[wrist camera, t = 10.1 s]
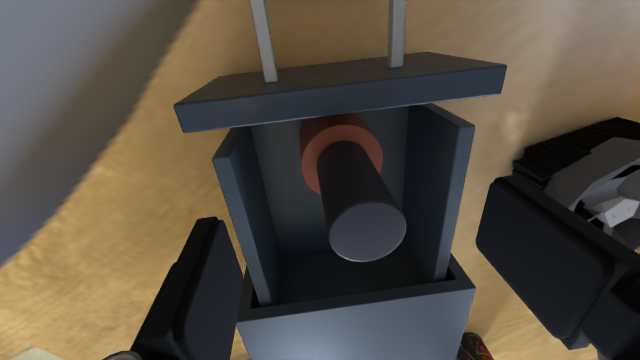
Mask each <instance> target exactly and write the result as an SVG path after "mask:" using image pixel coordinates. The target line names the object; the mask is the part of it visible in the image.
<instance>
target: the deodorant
mask: <svg viewBox="0 0 640 360" xmlns="http://www.w3.org/2000/svg"><path fill="white" fill-rule="evenodd" d="M455 360H494V359H493V357H492V356H491V354H490V352H489V351H488V349H487V348H486V346H485V344H484V343H483V341H482V339H481V338H480V337H479V336H478V335H476V334H473V333H464V334H463V335H462V339H461V342H460V346H459V349H458V353H457V356H456V359H455Z"/></svg>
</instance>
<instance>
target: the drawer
mask: <svg viewBox="0 0 640 360" xmlns="http://www.w3.org/2000/svg"><path fill="white" fill-rule="evenodd" d="M250 6H251V11H252V16H253V21H254V26H255V32H256V37H257V42H258V47H259V53H260V58H261V63H262V68H263V71H261V72H252V73H244V74H235V75H227V76H219V77H217V78H216V79H214V80H213V81H211V82H209V83H208V84H206V85H205V86H203V87H201V88H200V89H198V90H197V91H195V92H193V93H192V94H190V95H189V96H187V97H186V98H184V99H182V100H181V101H179V102H178V103H176V104H174V109H175V112H176V115H177V118H178V120H179V123H180V126H181V128H182V131H183V133H192V132H200V131H208V130H216V129H225V128H231V129H230V131H229V132H228V134H227V135H226V137H225V139H224V140H223V142H222V143H221V145H220V147H219V148H218V150H217V151H216V153H215V155H214V156H213V158H212V162H213V165H214V168H215V171H216V174H217V177H218V180H219V183H220V186H221V189H222V192H223V195H224V198H225V201H226V204H227V207H228V210H229V213H230V216H231V219H232V222H233V225H234V228H235V231H236V234H237V237H238V240H239V243H240V246H241V249H242V252H243V255H244V258H245V261H246V264H247V267H248V270H249V273H250V276H251V279H252V282H253V285H254V288H255V291H256V294H257V297H258V300H259V303H260V306H261V307H267V306H274V305H281V304H288V303H295V302H302V301H309V300H316V299H323V298H330V297H337V296H344V295H351V294H358V293H365V292H372V291H379V290H386V289H393V288H400V287H407V286H414V285H421V284H428V283H435V282H442V281H445V278H446V273H447V268H448V263H449V258H450V253H451V248H452V242H453V237H454V232H455V227H456V222H457V217H458V212H459V207H460V202H461V197H462V192H463V187H464V182H465V177H466V172H467V167H468V162H469V157H470V152H471V147H472V142H473V136H474V131H475V125H473V124H471V123H469V122H467V121H466V120H464V119H462V118H460V117H458V116H456V115H454V114H452V113H450V112H448V111H446V110H445V109H443V108H441V107H439V106H437V105H435V104H433V103H436V102H444V101H452V100H460V99H468V98H476V97H484V96H493V95H499V94H501V91H502V87H503V82H504V78H505V74H506V69H507V65H505V64H499V63H493V62H487V61H480V60H474V59H468V58H462V57H456V56H450V55H443V54H437V53H431V52H423V53H414V54H406V55H404V36H405V17H406V0H389V32H388V57H380V58H372V59H363V60H355V61H346V62H338V63H329V64H321V65H312V66H303V67H295V68H286V69H278V70H277V68H276V62H275V56H274V50H273V44H272V38H271V32H270V26H269V20H268V14H267V8H266V2H265V0H250ZM354 112H356V113H357V114H358V115H359V117H360V118H361V119H362V121H363V122H364V123H365V125H366V126H367V127H368V128H369V130H370V131H371V132H372V134H373V135H374V136H375V138H376V139H377V140H378V142H379V144H380V146H381V149H382V153H383V165H382V169H381V172H380V176H381V178H382V179H383V181H384V183H385V184H386V186H387V188H388V189H389V191H390V193H391V194H392V196H393V198H394V199H395V201H396V203H397V204H398V206H399V207H400V209H401V211H402V213H403V214H404V216H405V219H406V232H405V235H404V237H403V240H402V241H401V243H400V244H399V245H398V246H397V247H396V248H395V249H394V250H393V251H392V252H390V253H389V254H387V255H385V256H383V257H381V258H379V259H376V260H372V261H365V262H358V261H351V260H348V259H345V258H343V257H341V256H340V255H338V254H337V253H336V252H335V251H334V250H333V249H332V247H331V245H330V243H329V239H328V234H327V228H326V222H325V216H324V210H323V204H322V198H321V195H319V194H318V193H316V192H315V191H313V190H312V189H311V188H310V187H309V186H308V184H307V183H306V181H305V180H304V177H303V175H302V171H301V157H300V141H299V132H300V127H301V124H302V122H303V120H304V119H306V118H314V117H322V116H330V115H338V114H346V113H354Z"/></svg>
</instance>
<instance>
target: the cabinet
mask: <svg viewBox="0 0 640 360" xmlns="http://www.w3.org/2000/svg"><path fill="white" fill-rule="evenodd" d="M475 290H476V287H475V286H474V284H473V283H472V281H471V280H470V278H468V276H467V275H466V273H465V272H464V270H463V269H462V268H461V266H460V265H459V263H458V262H457V261H456V259H455V258H454V256H453V255H452V253H450V258H449V263H448V268H447V273H446V278H445V281H442V282H435V283H428V284H421V285H414V286H407V287H400V288H393V289H386V290H379V291H372V292H365V293H358V294H351V295H344V296H337V297H330V298H323V299H316V300H309V301H302V302H295V303H288V304H281V305H274V306H267V307H261V306H260V303H259V300H258V297H257V294H256V291H255V288H254V285H253V282H252V279H251V276H250V273H249V270H248V267H247V265H246V270H245V275H244V280H243V289H242V294H241V300H240V305H239V311H238V316H237V322H236V326H237V328H238V331H239V333H240V335H241V338H242V340H243V342H244V345H245V347H246V349H247V352H248V354H249V356H250V359H251V360H455V359H456V356H457V353H458V349H459V346H460V342H461V339H462V335H463V332H464V328H465V325H466V321H467V318H468V315H469V311H470V308H471V304H472V301H473V297H474V294H475Z"/></svg>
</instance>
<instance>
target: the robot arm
mask: <svg viewBox="0 0 640 360" xmlns="http://www.w3.org/2000/svg"><path fill="white" fill-rule="evenodd" d="M476 245H477V248H478V249H479V251H480V252H481V253H482V254H483V255H484V256H485V258H486V259H487V260H488V261H489V262H490V263H491V265H492V266H493V267H494V268H495V269H496V270H497V272H498V273H499V274H500V275H501V276H502V277H503V279H504V280H505V281H506V282H507V283H508V284H509V286H510V287H511V288H512V289H513V290H514V291H515V293H516V294H517V295H518V296H519V297H520V298H521V300H522V301H523V302H524V303H525V304H526V305H527V307H528V308H529V309H530V310H531V311H532V313H533V314H534V315H535V316H536V317H537V318H538V320H539V321H540V322H541V323H542V324H543V325H544V327H545V328H546V329H547V330H548V331H549V332H550V333H551V334H552V335H553V336H554V337H555V338H558V339H560V340H561V341H562V343H563V344H564V345H565V346H566V347H567V348H568V350H573V349H579V348H585V347H588V345H589V344H590V343H591V344H592V345H593V346H594V347H595V348H596V349H597V354H598V360H640V255H639V254H638V253H636V252H635V251H633V250H632V249H630V248H629V247H627V246H625V245H624V244H622V243H621V242H619V241H618V240H616V239H615V238H613V237H612V236H610V235H608V234H607V233H605V232H604V231H602V230H601V229H599V228H598V227H596V226H595V225H593V224H591V223H590V222H588V221H587V220H585V219H584V218H582V217H581V216H579V215H578V214H576V213H574V212H573V211H571V210H570V209H568V208H567V207H565V206H564V205H562V204H561V203H559V202H557V201H556V200H554V199H553V198H551V197H550V196H548V195H547V194H545V193H544V192H542V191H540V190H539V189H537V188H536V187H534V186H533V185H531V184H530V183H528V182H526V181H525V180H523V179H522V178H520V177H519V176H516V175H512V176H504V177H498V178H496V179H495V180H494V182H493V183H491V184H490V187H489V191H488V194H487V198H486V202H485V206H484V210H483V214H482V217H481V221H480V225H479V229H478V233H477V237H476ZM242 289H243V274H242V271H241V268H240V265H239V262H238V259H237V257H236V254H235V251H234V248H233V245H232V242H231V240H230V237H229V234H228V231H227V228H226V226H225V223H224V221H223V220H218V218H217V217H208V218H201V219H198V220H197V221H196V223H195V225H194V227H193V229H192V231H191V233H190V235H189V237H188V239H187V241H186V244H185V246H184V248H183V250H182V252H181V254H180V256H179V258H178V260H177V262H175V263H174V264H173V265H172V267H171V268H170V270H169V272H168V274H167V276H166V278H165V280H164V282H163V284H162V286H161V288H160V290H159V292H158V294H157V296H156V298H155V300H154V302H153V304H152V306H151V308H150V310H149V312H148V314H147V316H146V318H145V320H144V322H143V324H142V326H141V329H140V331H139V333H138V335H137V337H136V339H135V341H134V343H133V345H132V347H131V349H130V351H120V352H117V353H115V354H112V355H109V356H108V357H106V358H104V359H103V360H230V355H231V350H232V344H233V339H234V333H235V327H236V322H237V316H238V311H239V305H240V300H241V294H242Z"/></svg>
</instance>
